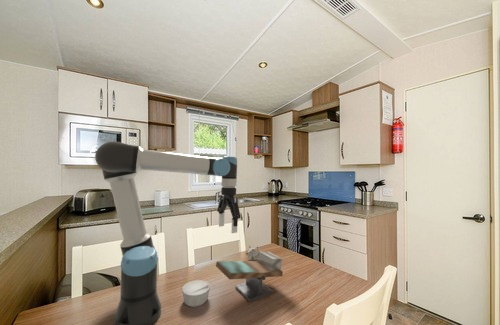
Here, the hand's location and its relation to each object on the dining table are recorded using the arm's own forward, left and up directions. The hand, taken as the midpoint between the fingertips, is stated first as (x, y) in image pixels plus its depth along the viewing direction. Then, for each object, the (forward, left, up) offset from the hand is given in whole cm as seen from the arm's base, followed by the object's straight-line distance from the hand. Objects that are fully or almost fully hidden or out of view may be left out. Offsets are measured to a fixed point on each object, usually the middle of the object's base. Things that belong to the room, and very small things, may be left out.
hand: (227, 229), depth 108 cm
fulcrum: (+5, -17, -24) cm, 30 cm away
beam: (+2, -17, -15) cm, 23 cm away
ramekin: (-19, -10, -24) cm, 32 cm away
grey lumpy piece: (+22, +9, -24) cm, 33 cm away
